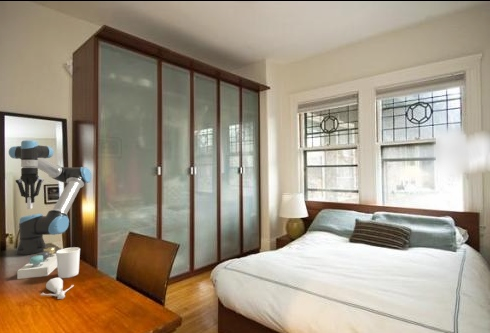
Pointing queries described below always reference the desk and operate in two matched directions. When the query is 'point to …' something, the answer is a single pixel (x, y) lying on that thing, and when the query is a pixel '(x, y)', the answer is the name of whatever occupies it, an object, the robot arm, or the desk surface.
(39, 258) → the knob
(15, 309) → the desk surface
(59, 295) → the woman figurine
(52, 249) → the knob
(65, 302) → the desk surface
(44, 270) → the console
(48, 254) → the knob mid
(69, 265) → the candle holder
